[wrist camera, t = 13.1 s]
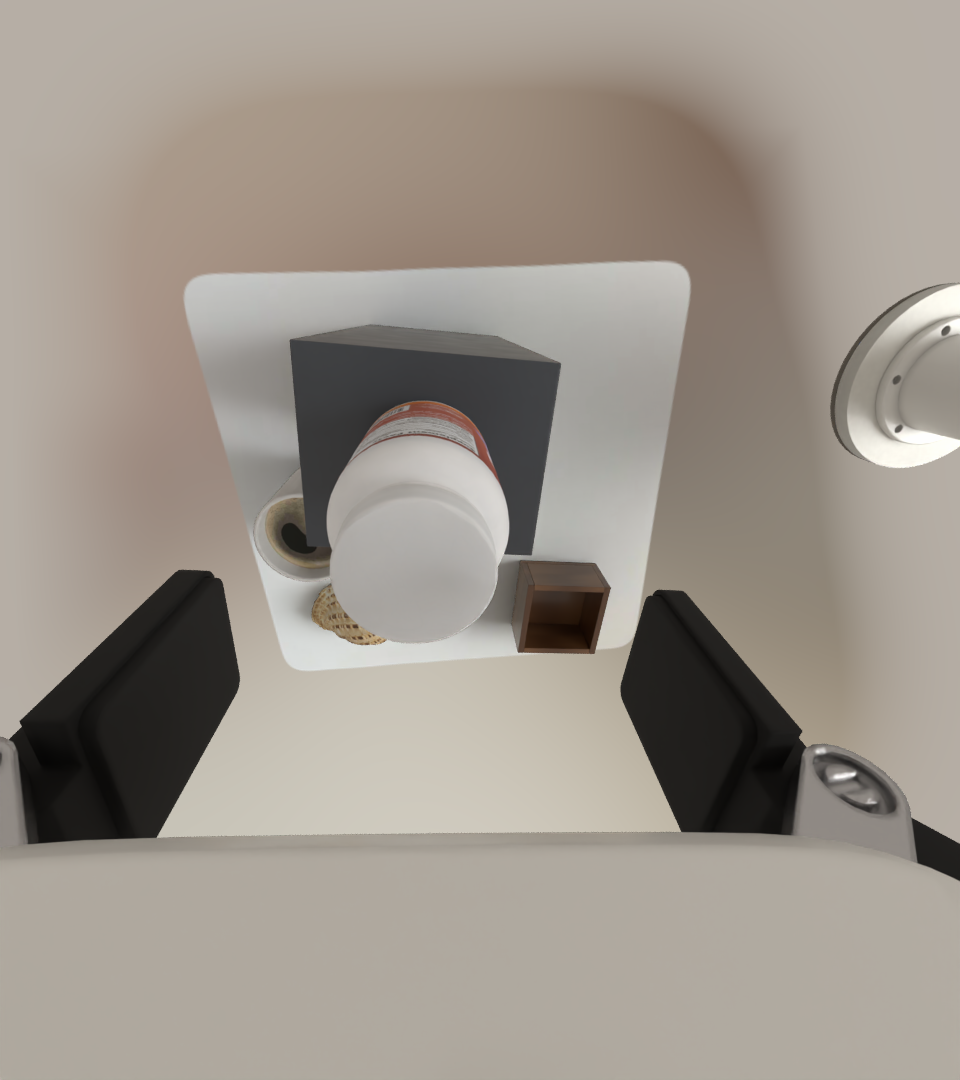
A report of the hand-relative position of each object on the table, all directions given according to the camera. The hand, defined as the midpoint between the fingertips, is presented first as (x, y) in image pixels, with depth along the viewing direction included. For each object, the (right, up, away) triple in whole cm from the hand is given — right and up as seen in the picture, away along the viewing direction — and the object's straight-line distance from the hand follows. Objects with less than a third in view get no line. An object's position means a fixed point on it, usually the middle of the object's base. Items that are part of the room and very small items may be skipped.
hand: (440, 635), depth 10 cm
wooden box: (+10, -5, +48) cm, 49 cm away
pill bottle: (-2, +6, +12) cm, 14 cm away
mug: (-15, +6, +40) cm, 44 cm away
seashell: (-14, -6, +46) cm, 49 cm away
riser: (-4, +18, +36) cm, 40 cm away
